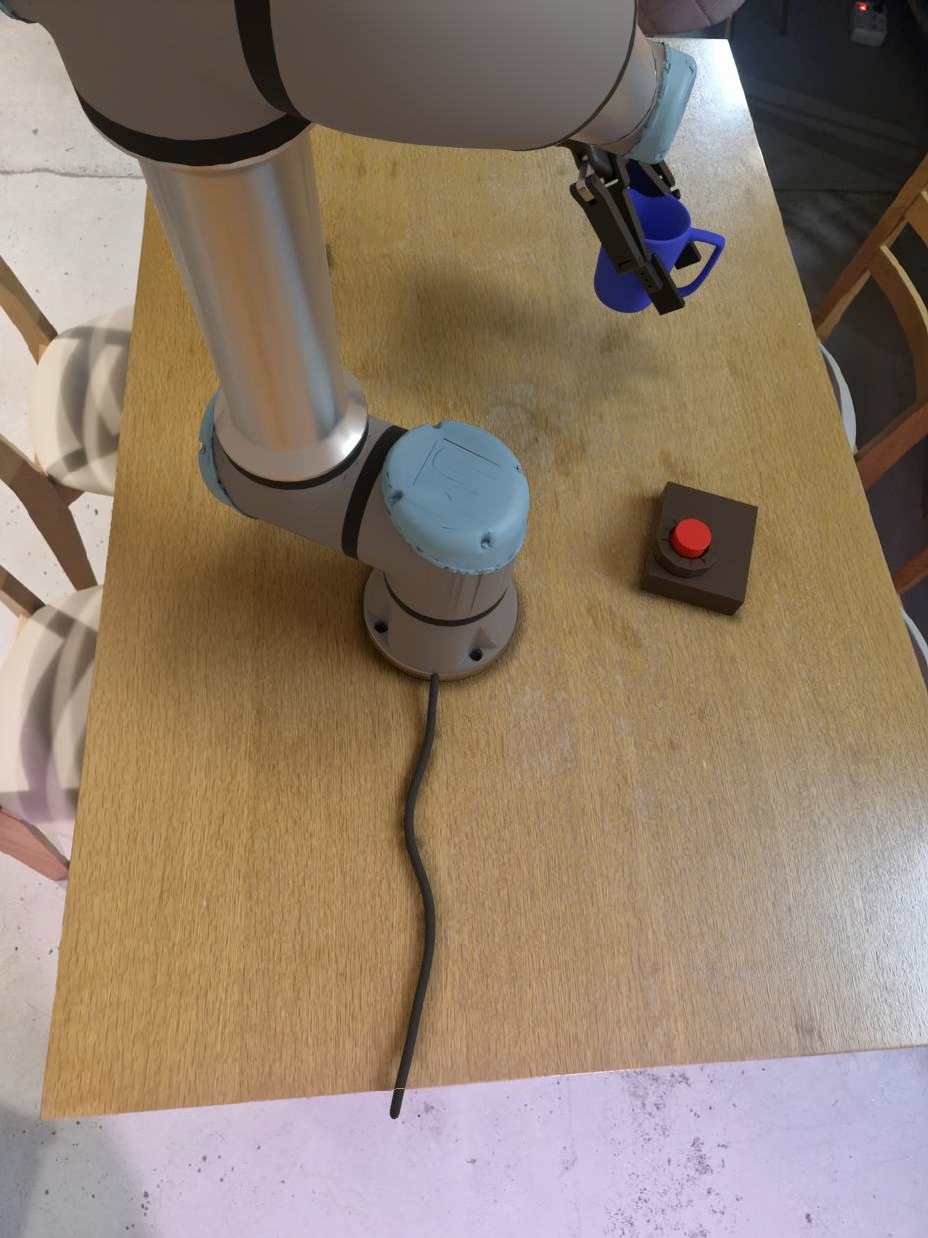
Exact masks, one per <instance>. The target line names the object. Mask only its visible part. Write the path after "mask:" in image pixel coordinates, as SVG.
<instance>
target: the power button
mask: <svg viewBox="0 0 928 1238" xmlns="http://www.w3.org/2000/svg"><path fill="white" fill-rule="evenodd" d="M710 541H711V533H710V531H709V529H708V527H707V526H706V525H705V524H704V523H702V522H701V521H698V520H695V519H686V520H683V521H681V522H680V523H679V524H678V525H677V527H676V528H675V530H674V532H673V533H672V535H671V545H672V547H673V549H674V550H675V552H677V553H678V554H679V555H681V556H683V557H686V558H695V557H698V556H700V555H701V554H702V553H703V552H704V551H705V549H706V548H707V546H708V545H709V543H710Z"/></svg>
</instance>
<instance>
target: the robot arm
mask: <svg viewBox="0 0 928 1238" xmlns="http://www.w3.org/2000/svg"><path fill="white" fill-rule="evenodd" d="M638 1H639V0H0V11H1V12H2V13H3V14H4V15H5V16H7V17H8V18H10V19H11V20H15V21H20V22H22V23H25V24H27V25H30V24H39V25H40V26H42V27H43V28H44V29H45V31H47V33H48V34H49V35H50V36H51V38H52V40H53V42H54V45H55V47H56V49H57V50H58V51H57V52H58V53H59V56H60V58H61V61H62V64H63V66H64V68H65V71H66V73H67V76H68V77H69V80H70V82H71V85H72V87H73V90H74V92H75V95H76V97H77V99H78V101H79V104H80V106H81V109H82V111H83V113H84V115H85V116H86V118H87V119H88V121H89V123H90V124H91V126H92V127H93V129H94V130H95V131H96V132H97V134H99V135H100V136H101V137H102V138H103V139H104V140H105V141H106V142H107V143H109V144H110V145H111V146H112V147H114V148H116V149H117V150H119V151H120V152H122V153H123V154H125V155H127V156H129V157H132V158H134V159H136V160H137V162H138V164H139V165H138V166H140V170H141V173H142V175H143V179H144V182H145V184H146V187H147V189H148V192H149V196H150V197H151V199H152V203H153V205H154V208H155V211H156V214H157V216H158V219H159V222H160V225H161V227H162V230H163V233H164V236H165V238H166V241H167V243H168V247H169V249H170V252H171V255H172V257H173V260H174V263H175V266H176V268H177V272H178V274H179V277H180V279H181V282H182V285H183V287H184V290H185V293H186V296H187V299H188V301H189V304H190V307H191V309H192V312H193V315H194V318H195V320H196V323H197V326H198V328H199V331H200V333H201V336H202V339H203V342H204V345H205V347H206V350H207V353H208V356H209V359H210V361H211V364H212V366H213V369H214V372H215V375H216V378H217V381H218V384H219V386H218V388H216V391H215V392H214V393H213V395H212V397H211V398H210V400H209V402H208V404H207V406H206V409H205V411H204V413H203V417H202V419H201V423H200V427H199V432H198V441H199V442H200V443H201V448H199V450H198V452H197V460H198V461H197V462H198V468H199V471H200V475H201V479H202V480H203V483H204V485H205V486H206V487H205V488H207V490H208V491H209V492H210V494H211V495H212V496H213V497H214V498H215V499H216V500H218V501H219V502H220V503H222V504H224V505H226V506H227V507H230V508H231V509H232V510H234V511H235V512H236V513H238V514H240V515H242V516H244V517H246V518H249V519H252V520H255V521H262V522H265V523H267V524H269V525H272V526H274V527H276V528H279V529H281V530H284V531H286V532H289V533H291V534H293V535H296V536H298V537H300V538H303V539H306V540H308V541H310V542H313V543H315V544H318V545H320V546H322V547H325V548H327V549H329V550H332V551H335V552H337V553H339V554H342V555H344V556H346V557H349V558H350V559H351V558H352V559H353V560H356V561H359V562H361V563H363V564H366V565H369V566H370V567H373V569H372V571H371V572H370V575H369V577H368V579H367V583H366V585H365V587H364V588H365V589H364V594H363V615H364V616H363V617H364V623H365V627H366V630H367V634H368V636H369V639H370V640H371V643H372V644H373V645H374V647H375V649H376V650H377V651H378V652H379V654H380V655H381V656H382V657H383V658H384V659H385V660H386V661H387V662H389V663H390V664H391V665H393V666H394V667H395V668H397V669H398V670H400V671H401V672H403V673H406V674H408V675H410V676H413V677H415V678H418V679H423V680H428V681H429V692H428V702H427V712H426V713H427V714H426V726H425V734H424V739H423V743H422V748H421V751H420V755H419V758H418V761H417V763H416V768H415V770H414V773H413V775H412V779H411V781H410V784H409V787H408V792H407V794H406V801H405V806H404V821H403V822H404V823H403V824H404V836H405V842H406V848H407V851H408V854H409V858H410V860H411V864H412V867H413V869H414V872H415V875H416V878H417V880H418V884H419V887H420V890H421V894H422V898H423V905H424V913H425V914H424V915H425V936H424V937H425V938H424V946H423V955H422V962H421V966H420V971H419V976H418V980H417V983H416V984H417V986H416V989H415V993H414V997H413V1002H412V1007H411V1012H410V1016H409V1021H408V1026H407V1031H406V1036H405V1040H404V1046H403V1050H402V1053H401V1058H400V1063H399V1067H398V1071H397V1075H396V1079H395V1084H394V1088H393V1091H392V1092H393V1093H392V1098H391V1101H390V1107H389V1117H390V1119H392V1120H397V1119H398V1118H399V1116H400V1115H401V1111H402V1110H401V1109H402V1104H403V1099H404V1094H405V1092H406V1091H405V1090H406V1086H407V1082H408V1078H409V1073H410V1070H411V1069H410V1068H411V1065H412V1060H413V1057H414V1056H413V1055H414V1051H415V1048H416V1047H415V1046H416V1043H417V1037H418V1031H419V1026H420V1021H421V1017H422V1012H423V1008H424V1007H423V1006H424V1003H425V999H426V998H425V997H426V993H427V989H428V985H429V980H430V976H431V975H430V974H431V971H432V965H433V960H434V953H435V944H436V943H435V942H436V909H435V907H436V906H435V902H434V896H433V892H432V888H431V885H430V881H429V878H428V876H427V872H426V870H425V868H424V865H423V861H422V858H421V855H420V852H419V849H418V846H417V840H416V835H415V824H414V823H415V821H414V820H415V819H414V818H415V808H416V807H415V806H416V801H417V796H418V792H419V788H420V785H421V782H422V780H423V777H424V773H425V771H426V768H427V765H428V762H429V758H430V755H431V752H432V747H433V743H434V737H435V730H436V722H437V721H436V720H437V707H438V695H439V687H440V682H449V681H451V682H452V681H458V680H463V679H466V678H470V677H472V676H474V675H477V674H479V673H481V672H483V671H484V670H486V669H487V668H489V667H490V666H491V665H493V664H495V662H496V661H497V660H499V658H500V657H501V656H502V654H504V652H505V651H506V650H507V647H508V646H509V644H510V642H511V640H512V638H513V636H514V635H513V634H514V632H515V629H516V626H517V623H518V617H519V597H518V592H517V589H516V588H517V587H516V586H515V583H514V580H513V577H512V575H513V570H514V567H515V565H516V561H517V556H518V554H519V552H520V550H521V549H522V547H523V545H524V542H525V539H526V537H527V533H528V523H529V519H528V517H529V512H530V504H531V502H530V501H531V499H530V497H531V496H530V488H529V483H528V479H527V476H526V475H525V473H524V471H523V470H522V466H521V463H520V461H519V459H518V458H517V457H516V456H515V454H514V453H513V451H512V450H510V448H509V447H508V446H507V445H506V444H505V443H504V442H503V441H501V440H500V439H499V438H498V437H496V436H495V435H494V434H492V433H490V432H489V431H486V430H485V429H483V428H481V427H479V426H477V425H474V424H470V423H468V422H462V421H457V420H449V419H448V420H440V421H439V422H438V423H437V424H434V425H431V424H430V423H429V422H425V423H421V424H419V425H417V426H415V427H413V428H411V429H407V428H404V427H403V426H399V425H397V424H394V423H392V422H389V421H387V420H384V419H382V418H379V417H377V416H375V415H371V414H369V410H368V409H369V408H368V402H367V398H366V394H365V392H364V389H363V387H362V384H360V381H359V380H358V379H357V378H356V376H355V375H354V374H353V373H352V371H350V369H348V368H347V366H345V365H344V364H343V363H342V357H341V350H340V342H339V335H338V328H337V327H338V326H337V321H336V320H337V319H336V314H335V306H334V298H333V291H332V285H331V284H332V283H331V278H330V269H329V263H328V255H327V249H326V241H325V234H324V232H325V231H324V226H323V219H322V211H321V203H320V197H319V189H318V183H317V175H316V167H315V161H314V159H315V158H314V153H313V147H312V146H313V145H312V139H311V130H313V129H314V127H316V125H320V126H322V127H325V128H328V129H331V130H333V131H338V132H341V133H344V134H348V135H352V136H355V137H356V136H358V137H361V138H362V137H363V138H367V139H368V138H369V139H374V140H378V141H379V140H380V141H385V142H392V143H398V144H399V143H400V144H407V145H415V146H416V145H417V146H425V147H426V146H428V147H429V146H430V147H441V148H457V149H473V150H476V149H477V150H503V151H512V152H532V151H538V150H544V149H547V148H548V149H549V148H551V147H556V148H566V149H568V150H569V151H570V153H571V156H572V158H573V161H574V164H575V167H576V169H577V171H579V173H578V177H577V180H576V181H575V182H572V183H571V184H570V185H569V186H568V187H569V188H568V189H569V193H570V196H571V197H572V198H573V200H575V202H576V203H577V204H578V205H579V207H581V209H582V211H583V212H584V214H585V216H586V218H587V219H588V222H589V224H590V226H591V227H592V229H593V231H594V233H595V235H596V236H597V239H598V241H599V243H600V245H601V244H602V246H603V248H604V250H605V251H606V253H607V255H608V257H609V259H610V261H611V263H612V265H613V266H614V268H615V270H616V272H617V274H618V275H623V274H625V273H628V272H630V271H634V273H635V275H636V276H637V278H638V280H639V281H640V283H641V285H642V286H643V288H644V290H645V291H646V293H647V294H648V296H649V298H650V299H651V301H652V303H651V304H652V305H653V306H654V308H655V310H656V312H657V313H658V314H659V316H664V315H666V314H669V313H672V312H676V311H678V310H681V309H684V308H685V306H686V304H687V303H686V301H685V299H684V297H682V295H681V294H680V292H679V290H678V288H677V287H678V286H677V285H676V282H675V281H674V279H673V277H672V276H671V273H670V274H669V272H668V271H667V269H666V267H665V265H664V263H663V262H662V260H661V258H660V257H659V256H658V255H657V254H656V253H654V254H652V255H651V251H650V249H649V247H648V246H647V244H646V243H645V241H644V238H645V235H644V232H643V229H642V227H641V224H640V221H639V218H638V215H637V213H636V210H635V207H634V204H633V202H632V199H631V196H630V193H629V191H628V188H632V189H634V190H636V191H637V192H639V193H640V194H642V195H644V196H647V197H658V196H660V197H663V196H666V194H665V193H668V194H670V195H672V196H673V197H675V198H676V199H678V200H679V201H680V200H681V198H682V194H681V190H680V189H679V188H675V189H674V190H672V189H671V188H673V187H675V186H676V179H675V177H674V175H673V173H672V171H671V169H670V168H669V166H668V164H667V163H666V161H665V158H666V157H667V155H668V153H669V151H670V149H671V146H672V144H673V143H674V141H675V138H676V135H677V133H678V130H679V128H680V126H681V123H682V120H683V118H684V115H685V112H686V109H687V107H688V104H689V101H690V98H691V95H692V91H693V89H694V86H695V82H696V79H697V76H698V75H697V74H698V65H697V61H696V59H695V58H694V57H693V56H692V55H690V54H689V53H687V52H684V51H681V50H678V49H676V48H673V47H671V46H670V44H669V43H668V42H665V41H654V40H652V39H649V38H647V37H645V35H644V33H643V31H642V30H641V27H640V26H639V24H638V17H639V16H638V12H639V10H638V9H639V8H638V7H639V4H638V3H639V2H638ZM616 180H617V181H616ZM614 181H616V182H614ZM612 182H613V183H612ZM611 183H612V184H611ZM608 184H610V185H608ZM606 185H608V186H606ZM645 239H646V238H645ZM701 261H702V254H701V253H700V250H699V249H698V246H697V245H696V243H695V241H693V242H690V243H689V244H687V245H686V246H685V248H684V249H683V250H682V252H681V254H680V255H679V257H678V259H677V260H676V262H675V264H674V266H673V267H675V270H676V271H678V270H682V269H685V268H687V267H691V266H692V265H695V264H697V263H700V262H701ZM396 1088H405V1089H396ZM394 1089H396V1090H394Z"/></svg>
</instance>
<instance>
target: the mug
mask: <svg viewBox="0 0 928 1238" xmlns="http://www.w3.org/2000/svg"><path fill="white" fill-rule="evenodd" d="M628 191H629V193H630V196H631V199H632V202H633V204H634V207H635V210H636V213H637V215H638V218H639V221H640V224H641V227H642V229H643V232H644V235H645V238H646V239H645V238H644V241H645V243H646V244H647V246H648V247H649V249H650V251H651V255H652V254H654V253H656V254H657V255H658V256H659V257H660V258H661V260H662V262H663V263H664V265H665V267H666V269H667V271H668V272H669V274H670V275H671V272H672V270H673V268H674V267H675V266H674V264H675V262H676V260H677V259H678V257H679V255H680V254H681V252H682V250H683V249H684V248H685V246H686V245H687V244H689V243H690V242H693V241H694V242H700V243H704V244H709V245H711V246H714V249H713V251H712V253H711V255H710V256H709V259H708V260H707V262H706V263H705V265H704V267H703V268H702V269H701V271H700V273H699V274H698V275H697V276H696V277H695V278H694V280H692V281H691V282H690V283H688V284H687V285H684V286H680V287H678V286H677V288H678V290H679V292H680V294H681V295H682V297H683V298H686V297H689V296H690V295H692V294H694V293H695V292H696V291H697V290H698V289H699V288H700V287H701V285H703V283H704V282H705V281H706V279H707V278H708V276H709V275H710V273H711V271H712V270H713V268H714V266H715V265H716V263H717V261H718V260H719V258H720V256H721V254H722V253H723V251H724V249H725V245H726V238H725V237H724V236H723V235H721V234H718V233H715V232H713V231H710V230H706V229H701V228H696V227H692V218H691V215H690V213H689V211H688V209H687V207H686V206H685V205H684V204H683V203H682V202H681V201H680V200H678V199H676V198H675V197H673V196H672V195H670V194H668V193H665V194H666V196H663V197H660V196H658V197H647V196H644V195H642V194H640V193H639V192H637V191H636V190H634V189H632V188H629V187H628ZM593 289H594V293H595V295H596V297H597V299H598V300H599V302H601V303H602V304H603V305H604V306H606V307H607V308H608V309H610V310H612V311H615V312H617V313H622V314H634V313H639V312H642V311H644V310H646V309H647V308H648V307H650V306H651V304H653V303H652V301H651V299H650V298H649V296H648V294H647V293H646V291H645V290H644V288H643V286H642V285H641V283H640V281H639V280H638V278H637V276H636V275H635V273H634V271H630V272H628V273H625V274H623V275H618V274H617V272H616V270H615V268H614V266H613V265H612V263H611V261H610V259H609V257H608V255H607V253H606V251H605V250H604V248H603V246H602V244H601V243H600V247H599V252H598V256H597V261H596V267H595V271H594V276H593Z"/></svg>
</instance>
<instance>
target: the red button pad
mask: <svg viewBox="0 0 928 1238" xmlns="http://www.w3.org/2000/svg"><path fill="white" fill-rule="evenodd" d="M758 513H759V506H756V505H753V504H750V503H747V502H744V501H743V502H742V501H740V500H736V499H733V498H729V497H726V496H722V495H719V494H715V493H711V492H708V491H704V490H702V489H699V488H698V489H697V488H694V487H690V486H687V485H683V484H680V483H676V482H673V481H669V480H667V482H666V484H665V485H664V487H663V489H662V491H661V493H660V495H659V497H658V500H657V505H656V509H655V515H654V519H653V524H652V529H651V534H650V538H649V542H648V547H647V552H646V556H645V562H644V566H643V571H642V576H641V580H640V584H639V590H641V591H642V590H643V591H646V592H650V593H653V594H656V595H659V596H663V597H667V598H671V599H674V600H677V601H680V602H683V603H687V604H691V605H694V606H696V607H697V606H698V607H702V608H704V609H708V610H712V611H715V612H717V613H721V614H725V615H728V616H731V617H732V616H734V615H735V614H736V612H737V611H738V610H739V609H740V608H741V607H742V606H743V604H744V603H745V600H746V595H747V594H746V593H747V587H748V579H749V573H750V566H751V560H752V554H753V553H752V552H753V547H754V540H755V533H756V527H757V521H758ZM686 519H695V520H698V521H701V522H702V523H704V524H705V525H706V526H707V527H708V529H709V531H710V533H711V541H710V543H709V545H708V546H707V548H706V549H705V551H704V552H703V553H702V554H701V555H700V556H698V557H695V558H686V557H683V556H681V555H679V554H678V553H677V552H675V550H674V549H673V547H672V545H671V535H672V533H673V532H674V530H675V528H676V527H677V525H678V524H679V523H680V522H681V521H683V520H686Z"/></svg>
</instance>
